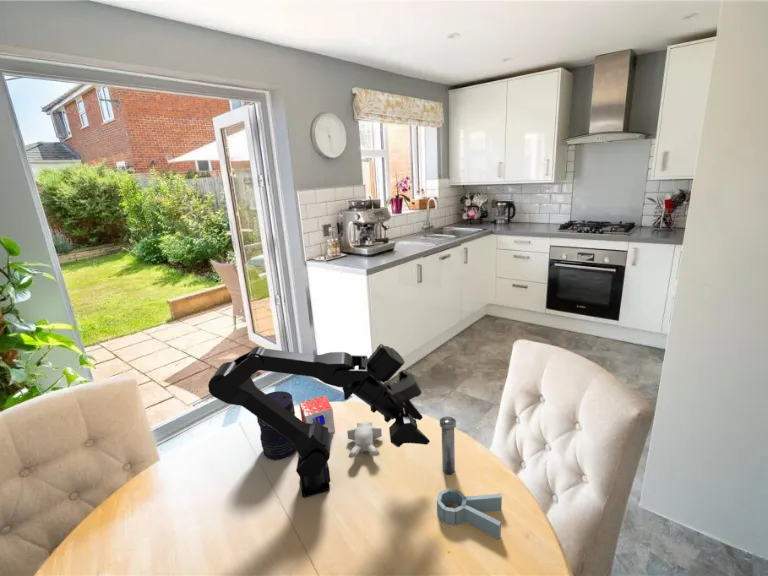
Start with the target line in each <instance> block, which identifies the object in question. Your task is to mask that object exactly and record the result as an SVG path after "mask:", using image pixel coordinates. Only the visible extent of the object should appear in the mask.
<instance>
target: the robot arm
mask: <svg viewBox="0 0 768 576" xmlns="http://www.w3.org/2000/svg"><path fill="white" fill-rule="evenodd" d="M404 365H405V360H404V358H403V356H402V355H400V353H399V352H398V351H397V350H396V349H395V348H393V347H389V346H387V345H384V344H382V343H380V344H379V345H378V346H376V349H375V350H374V351H373V353H372V354H371V355H370V356H369V357H368V355H365V354H363V355H360V354H359V355H357V354H356V355H355V354H350V353H348V352H346V351H344V352H343V351H338V352H337V351H331V352H325V353H323V354H310V353H302V352H293V351H286V350H280V349H271V348H265V347H263V346H255V347H253V348H251V350H249V351H248V352H247V353H244V354H241V355H240V356H239V357H236V358H235V359H234V360H232V361H226V362H224V363H222V364H220V365H219V367H218V368H217V370H216V372H215V373H214V374H213V376H212V377H211V378H210V379H209V381H208V384H207V385H208V386H207V387H208V392H209V394H210V395H211V396H212V397H213V398H215V399H217V400H219V401H221V402H223V403H224V404H227V405H232V406H233V405H234V406H240V407H243V408H244V409H245V410H247V411H248V412H249V413H251V414H252V415H254V416H255V417H256V418H257V417H258V418H259V419H261V420H262V421H264V422H265V423H266V424H268V425H269V426H271V427H272V428H273V429H275V430H276V431H277V432H279V433H280V434H282V435H283V436H284V437H286V438H287V439H289V440H290V441H291V442H292V443H293V445H294V446H295V448H296V450H297V451H296V453H298V459H297V464H296V465H297V466H296V470H295V472H296V474H297V476H299V483H300V489H301V496H302V498H308V497H311V496H314V495H317V494H321V493H325V492H328V491H330V490H331V489H330V488H331V487H330V482H331V474H330V467H329V464H328V461H329V459H330V457H331V447H332V433H330V432H329V431H328V427H325V426H323V425H321V424H320V423H319V421H317V420H315V421H314V422H313V424H310V423H304V422H303V421H302V419H300V418H298V417H297V416H296V415H295V416H294V415H293V414H292V413H290V412H289V411H288V410H286V409H285V408H284V407H282V406H281V405H280V404H278V403H277V402H276V401H274V400H273V399H272V398H270V397H269V396H268V395H266V394H267V393H265V392H264V391H262V390H261V389H260V388H258V387H257V386H256V384H255V383H254V380H253V379H252V376H253V375H254V374H256V373H257V372H259V371H264V372H269V373H270V372H271V373H272V372H273V373H279V374H287V375H296V376H305V377H311V378H315V379H318V380H319V381H320V382H322V383H324V384H326V385H329V386H333V387H337V388H342V391H343V399H344V400H345V401H347V400H348V399H349V398H350V397H351V396H352V395H354V396H356V397H357V398H359V399H360V400H361V401H363V402H364V403H365V404H366V405H368V406H369V407H370V411H371V412H372V413H373V414H375V413H376V412H378V413H379V414H380V415H382V416H383V418H384V419H383V420H384V421H385V422H386V423H387V424H388V423H389V422H390V421H391V420H394V422H393V423H392V424H391V425H390V426H389V427H388V429H389V430H388V431H389V438H390V439H389V440H390V443H391V444H392V445H393V446H395V447H396V448H401V446H402V445H403V444H416V445H428V444H429V443H430V442H431V441H430V439H429V438H428V437H427V436H426V435H425V434H424V432H422V431H421V430H420V429H419V428H418V422H417V421H421V420H422V419H423V418H424V417H423V415H422V414H421V412H420V411H419V410H418V408H417V407H416V406H415V405H414V403H413V402H412V401H411V400H412V399H413V398H417V397H419V396H420V395H422V390H421V386H420V384H419V382H418V381H417V379H416V377H415V375H414V374H412V372H408V371H407V370H404V369H401V368H402V367H403V366H404ZM356 367H358V368H357V369H356ZM400 369H401V370H400ZM399 370H400V371H399ZM397 372H398V373H397ZM396 373H397V374H398V376H397V377H398V379H396V380H395V381H394V382H393V383H392V384H391V383H390V382H388V381H389V380H391V378H392V377H393V376H394V375H395V374H396Z"/></svg>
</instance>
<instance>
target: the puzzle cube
mask: <svg viewBox="0 0 768 576" xmlns="http://www.w3.org/2000/svg"><path fill="white" fill-rule="evenodd" d="M299 410H300V416H301V421H303V422H304V423H310V424H313V422H314V421H315V420H317V421H319V423H320V424H321V425H323V426H325V427H328V431H329V432H330V434H332V433H335V432H336V427H335V419H334V418H335V417H334V410H333V406H332V405H331V403H330V402H329V400H328V398H327V396H326V395H321V396H318V397H314V398H311V399H307V400H302V401H300V402H299Z"/></svg>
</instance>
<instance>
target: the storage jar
mask: <svg viewBox="0 0 768 576" xmlns="http://www.w3.org/2000/svg"><path fill="white" fill-rule="evenodd" d="M265 394H266V395H268V396H269V397H270V398H272V399H273V400H274V401H276V402H277V403H278V404H280V405H281V406H282V407H284V408H285V409H286V410H288V411H289V412H290V413H292V414H293V415H294V416H296V410H295V405H294V398H293V395H292V394H291V393H289V392H288V391H285V390H284V391H278V390H277V391H272V392H268V393H265ZM256 419H257V424H258V427H259V428H260V429H259V431H260V436H259V437H260V443H261V447H262V451H263V453H262V454H263V456H264V457H265V458H266V459H267V460H270V461H280V460H285V459H287V458H290V457H292V456H293V455H294V454H295V453H297V450H296V448H295V446H294V445H293V443H292V442H291V441H290V440H289V439H287V438H286V437H284V436H283V435H282V434H280V433H279V432H277V431H276V430H275V429H273V428H272V427H271V426H269V425H268V424H266V423H265V422H264V421H262V420H261V419H259V418H258V417H257V416H256Z"/></svg>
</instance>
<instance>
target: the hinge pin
mask: <svg viewBox="0 0 768 576" xmlns="http://www.w3.org/2000/svg"><path fill="white" fill-rule="evenodd" d="M439 427H440V429H441V458H442V460H441V463H442V464H441V465H442V473H443V474H444V475H447V476H451V475H453V474H455V473H456V461H455V458H456V455H455V452H456V451H455V428H456V427H457V421H456V419H455V418H454V417H452V416H447V415H446V416H443V417H440V419H439Z"/></svg>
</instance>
